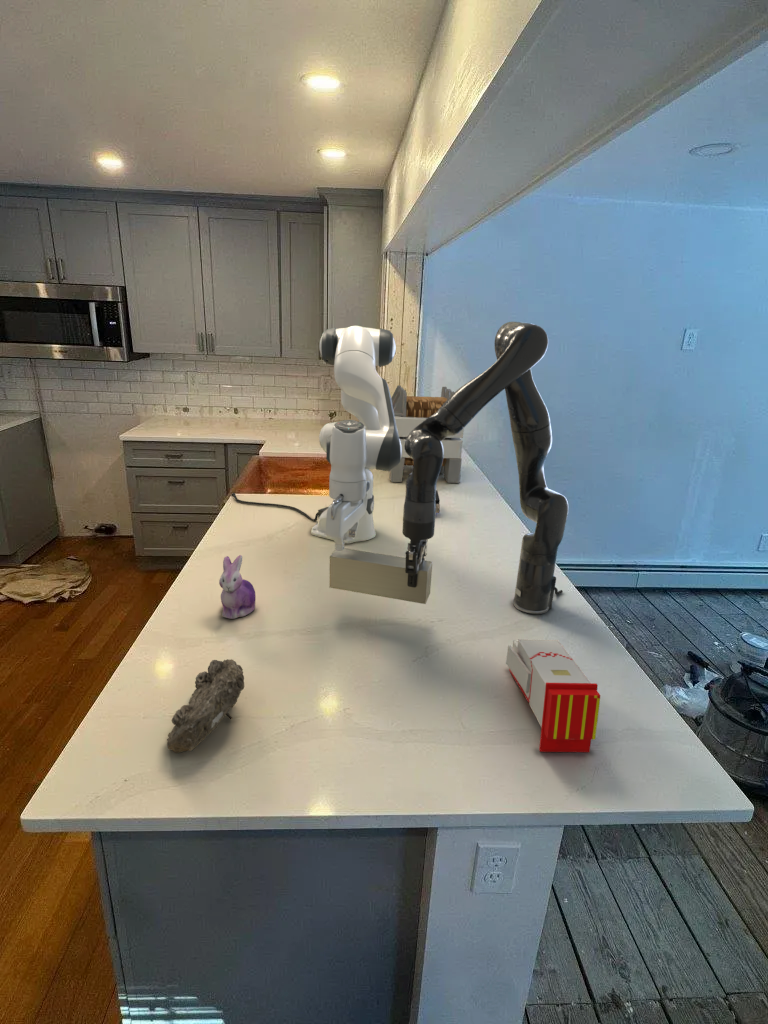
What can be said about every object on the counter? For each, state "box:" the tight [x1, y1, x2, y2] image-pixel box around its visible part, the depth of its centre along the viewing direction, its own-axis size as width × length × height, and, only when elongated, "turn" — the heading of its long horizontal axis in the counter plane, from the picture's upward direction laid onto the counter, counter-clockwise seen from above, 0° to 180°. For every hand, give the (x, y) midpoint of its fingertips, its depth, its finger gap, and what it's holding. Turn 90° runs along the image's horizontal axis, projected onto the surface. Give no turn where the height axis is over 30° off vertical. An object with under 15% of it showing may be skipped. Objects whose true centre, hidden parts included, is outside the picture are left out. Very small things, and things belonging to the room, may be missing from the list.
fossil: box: [166, 658, 245, 754], centre depth 106 cm, size 22×10×15 cm
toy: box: [505, 638, 602, 753], centre depth 114 cm, size 12×13×30 cm
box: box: [328, 547, 433, 605], centre depth 141 cm, size 25×6×9 cm, turn 74°
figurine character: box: [435, 489, 441, 517], centre depth 221 cm, size 7×8×15 cm
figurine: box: [218, 554, 256, 619], centre depth 143 cm, size 9×10×15 cm
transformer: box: [388, 384, 465, 484], centre depth 268 cm, size 34×33×41 cm
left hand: (346, 542), depth 141 cm, fingers open, 8 cm apart
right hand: (415, 580), depth 138 cm, fingers closed on box, 6 cm apart
